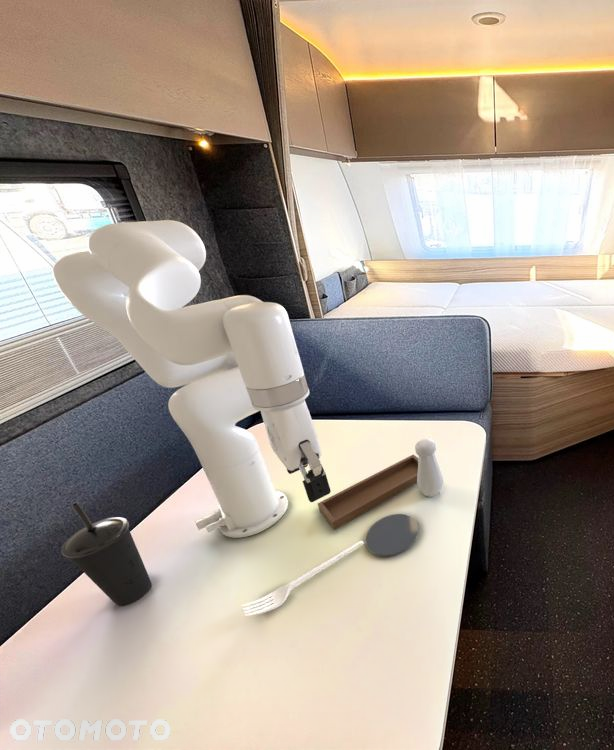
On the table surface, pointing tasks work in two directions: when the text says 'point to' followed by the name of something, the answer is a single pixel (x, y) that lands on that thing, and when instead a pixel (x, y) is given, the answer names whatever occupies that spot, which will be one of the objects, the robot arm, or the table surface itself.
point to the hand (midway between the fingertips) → (308, 482)
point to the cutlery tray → (369, 492)
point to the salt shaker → (428, 468)
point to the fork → (292, 586)
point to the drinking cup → (109, 558)
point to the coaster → (392, 535)
